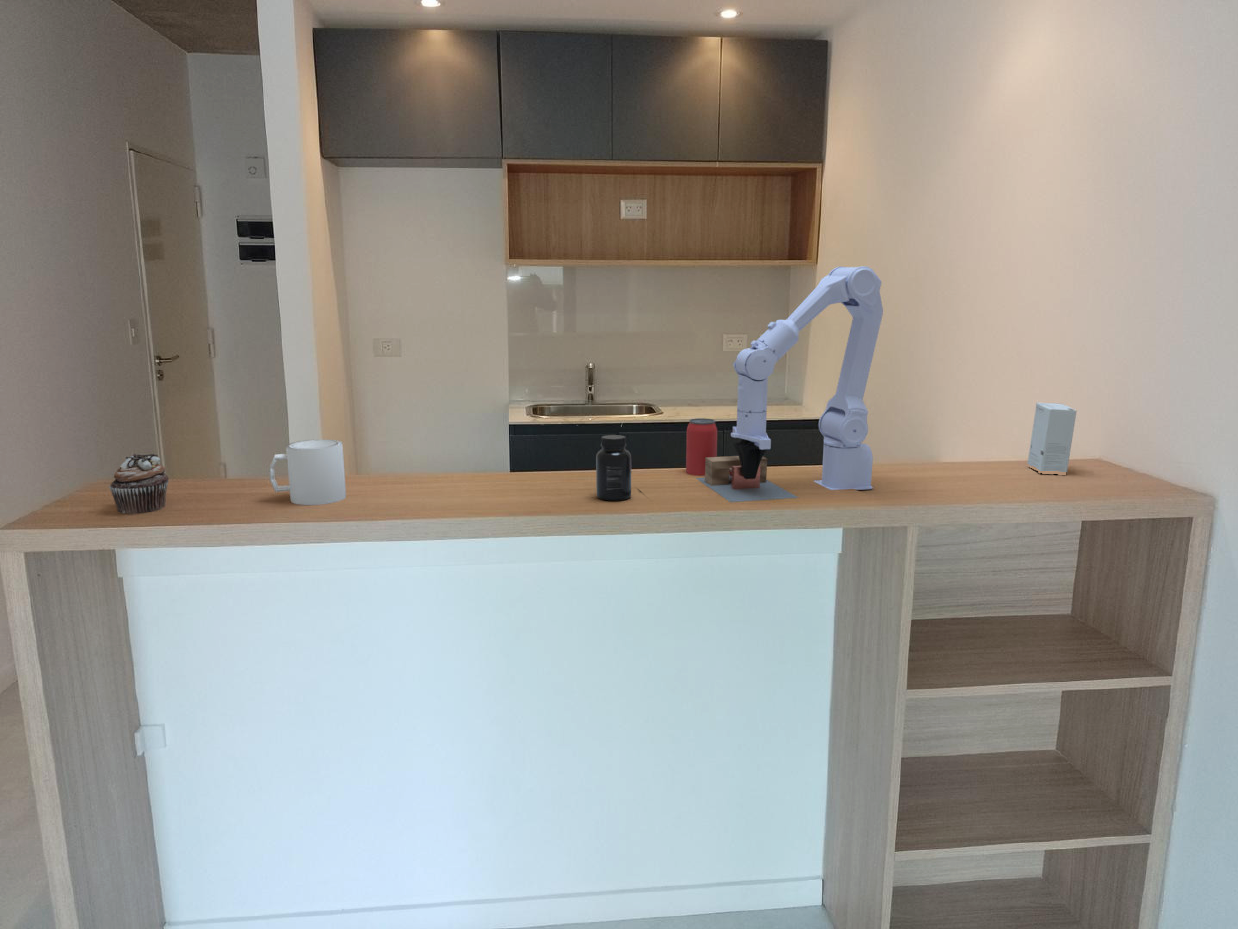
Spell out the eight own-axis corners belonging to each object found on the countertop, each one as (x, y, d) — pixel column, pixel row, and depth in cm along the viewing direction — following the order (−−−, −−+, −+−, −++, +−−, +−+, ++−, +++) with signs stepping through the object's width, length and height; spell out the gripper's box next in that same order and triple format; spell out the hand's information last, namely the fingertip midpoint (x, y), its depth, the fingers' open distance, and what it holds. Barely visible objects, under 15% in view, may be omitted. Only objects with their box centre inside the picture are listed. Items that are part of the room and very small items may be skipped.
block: (758, 477, 183) (759, 454, 182) (766, 482, 179) (767, 458, 178) (704, 481, 180) (705, 457, 179) (711, 485, 176) (712, 461, 175)
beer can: (714, 479, 184) (716, 423, 182) (683, 477, 186) (684, 422, 183) (717, 472, 191) (719, 418, 188) (687, 470, 192) (688, 417, 189)
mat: (757, 477, 186) (757, 474, 186) (798, 500, 167) (798, 497, 167) (695, 480, 183) (695, 478, 182) (730, 505, 164) (730, 501, 164)
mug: (270, 508, 161) (265, 452, 158) (273, 495, 170) (269, 442, 168) (346, 502, 165) (342, 448, 162) (345, 490, 174) (342, 438, 172)
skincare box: (1026, 467, 196) (1033, 402, 193) (1054, 467, 196) (1061, 402, 193) (1040, 475, 188) (1048, 407, 185) (1069, 476, 188) (1077, 408, 185)
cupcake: (121, 503, 164) (115, 451, 162) (177, 500, 166) (171, 449, 164) (104, 516, 155) (97, 462, 153) (163, 513, 157) (157, 459, 155)
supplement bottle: (637, 495, 170) (638, 435, 168) (619, 503, 165) (620, 441, 162) (607, 491, 174) (607, 432, 171) (589, 498, 168) (589, 437, 166)
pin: (759, 487, 174) (760, 465, 173) (733, 489, 173) (734, 467, 172) (745, 479, 181) (746, 458, 180) (720, 481, 180) (721, 459, 179)
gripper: (719, 405, 175) (717, 471, 178) (747, 417, 161) (744, 488, 164) (751, 404, 177) (749, 469, 180) (782, 415, 163) (779, 485, 166)
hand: (749, 478), depth 172 cm, fingers closed
